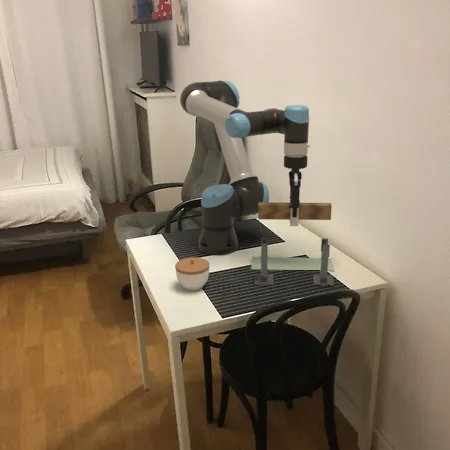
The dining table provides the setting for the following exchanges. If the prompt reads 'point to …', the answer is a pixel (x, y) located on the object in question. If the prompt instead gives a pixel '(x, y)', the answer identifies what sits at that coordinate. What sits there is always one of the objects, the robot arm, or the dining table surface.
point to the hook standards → (318, 279)
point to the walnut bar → (305, 211)
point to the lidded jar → (192, 273)
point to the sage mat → (290, 263)
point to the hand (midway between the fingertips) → (293, 223)
